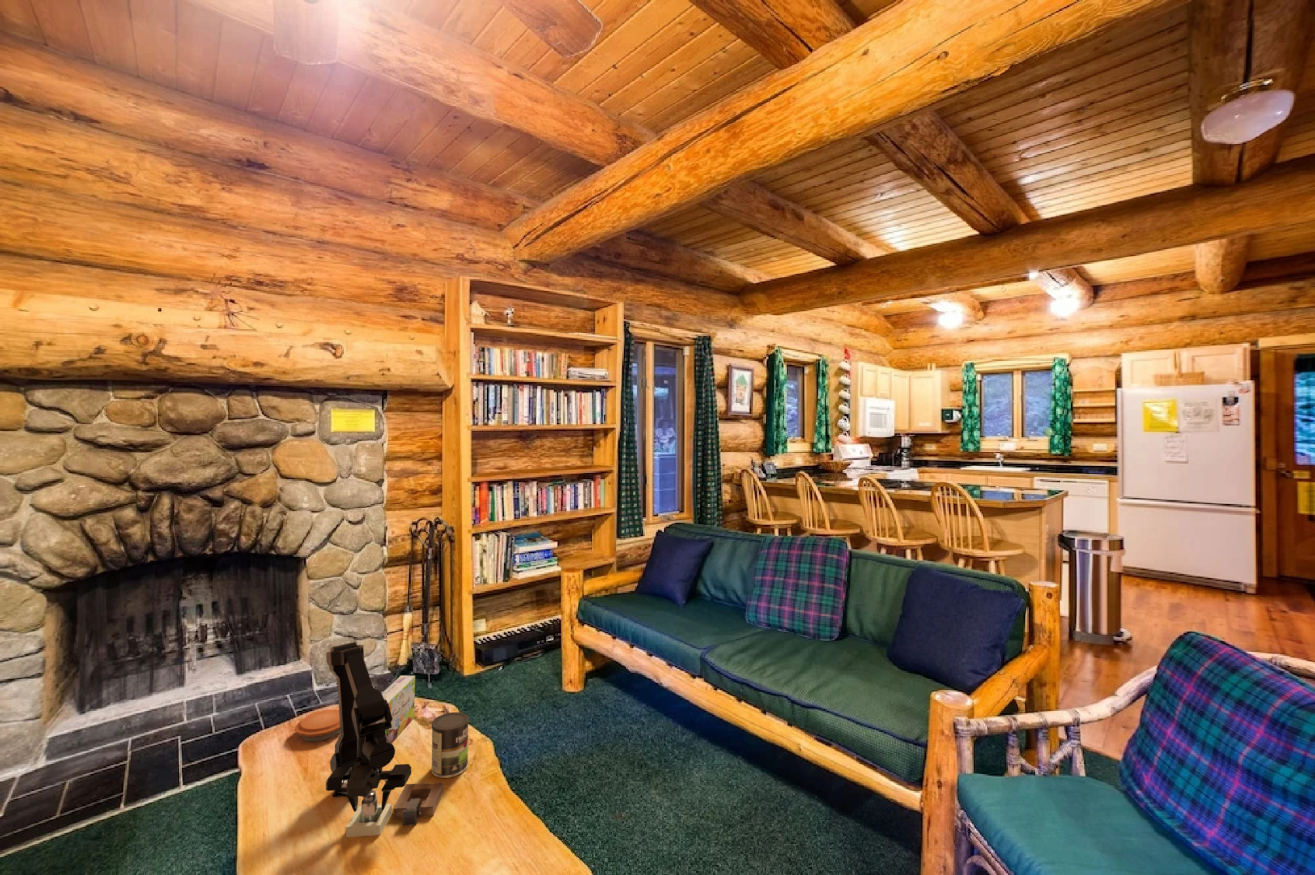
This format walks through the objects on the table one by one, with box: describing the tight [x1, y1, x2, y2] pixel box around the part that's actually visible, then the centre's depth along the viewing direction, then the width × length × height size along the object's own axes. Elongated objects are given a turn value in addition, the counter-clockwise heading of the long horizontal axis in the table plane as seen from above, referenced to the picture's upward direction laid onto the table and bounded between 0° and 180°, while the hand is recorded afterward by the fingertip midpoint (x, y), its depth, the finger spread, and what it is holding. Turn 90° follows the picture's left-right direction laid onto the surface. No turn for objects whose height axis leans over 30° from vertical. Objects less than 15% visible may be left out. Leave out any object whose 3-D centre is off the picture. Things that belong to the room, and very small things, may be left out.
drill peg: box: [360, 789, 378, 823], centre depth 144 cm, size 4×4×8 cm
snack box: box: [377, 675, 416, 744], centre depth 186 cm, size 21×6×15 cm, turn 179°
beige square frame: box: [345, 803, 393, 838], centre depth 144 cm, size 8×8×2 cm
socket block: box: [392, 781, 445, 819], centre depth 152 cm, size 10×10×2 cm
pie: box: [294, 708, 341, 743], centre depth 186 cm, size 16×16×5 cm
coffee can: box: [431, 711, 470, 779], centre depth 168 cm, size 10×10×14 cm
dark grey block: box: [402, 798, 422, 826], centre depth 147 cm, size 3×5×4 cm, turn 6°
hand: (369, 810), depth 144 cm, fingers open, 6 cm apart
